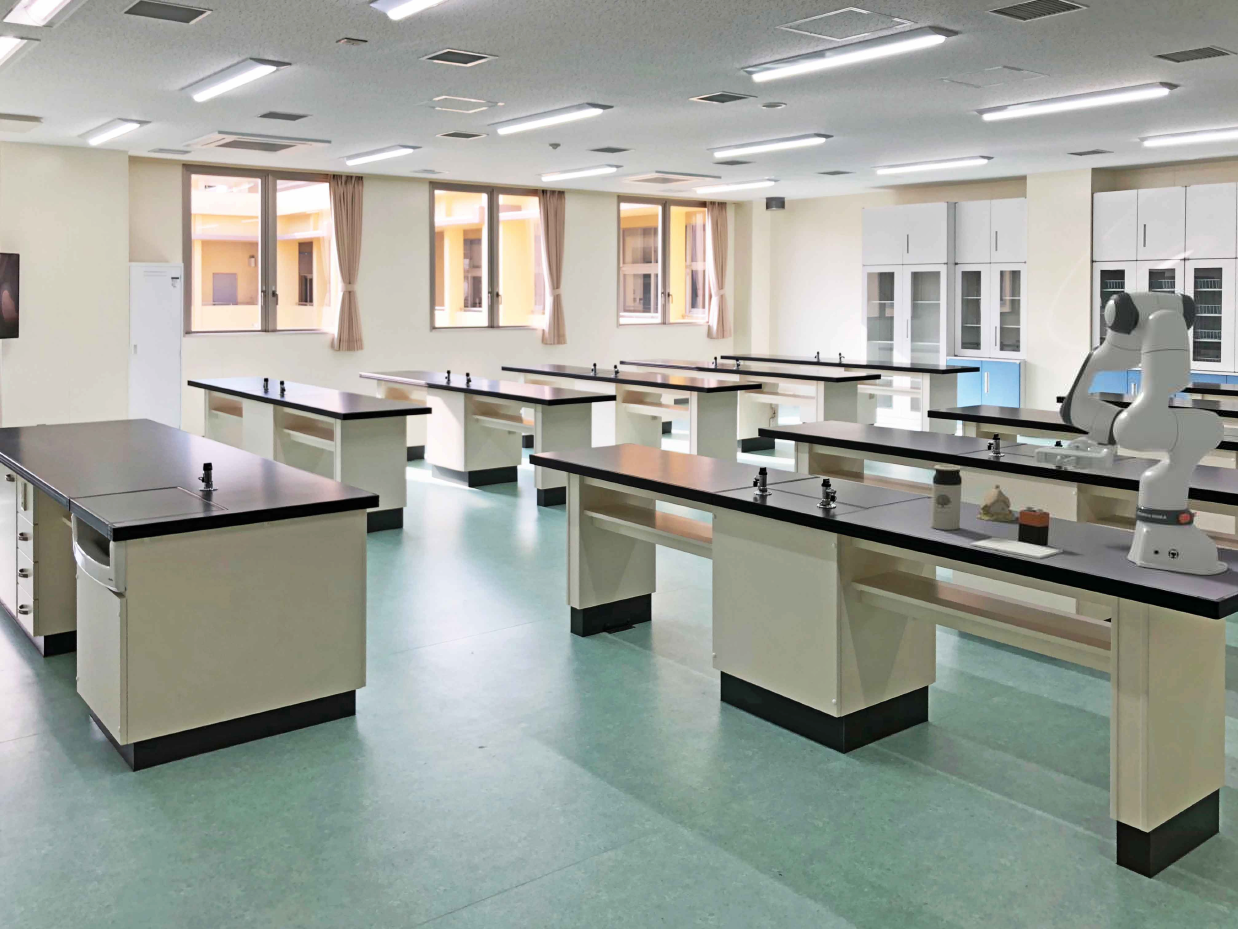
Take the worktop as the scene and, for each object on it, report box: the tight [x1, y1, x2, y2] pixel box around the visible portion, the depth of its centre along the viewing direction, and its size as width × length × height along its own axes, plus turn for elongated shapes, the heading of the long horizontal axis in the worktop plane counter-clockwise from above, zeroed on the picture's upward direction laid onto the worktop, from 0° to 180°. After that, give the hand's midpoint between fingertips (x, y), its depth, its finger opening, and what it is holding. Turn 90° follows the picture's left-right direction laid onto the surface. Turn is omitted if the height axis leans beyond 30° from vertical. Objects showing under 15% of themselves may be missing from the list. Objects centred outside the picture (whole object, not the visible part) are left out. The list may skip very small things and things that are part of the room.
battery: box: [1017, 506, 1050, 547], centre depth 298 cm, size 4×7×10 cm, turn 33°
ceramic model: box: [977, 484, 1017, 522], centre depth 336 cm, size 14×11×10 cm
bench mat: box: [969, 536, 1064, 560], centre depth 293 cm, size 20×12×1 cm, turn 40°
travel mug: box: [930, 464, 963, 531], centre depth 319 cm, size 8×8×18 cm
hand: (1060, 463), depth 303 cm, fingers closed
